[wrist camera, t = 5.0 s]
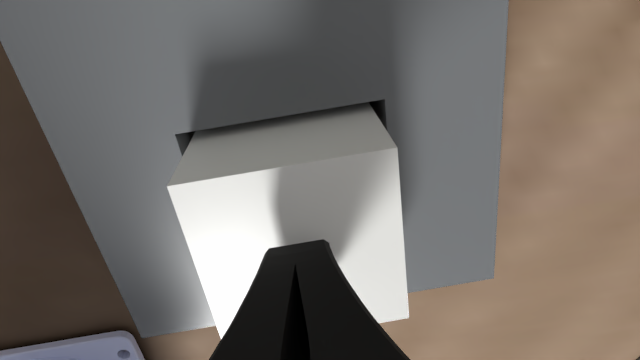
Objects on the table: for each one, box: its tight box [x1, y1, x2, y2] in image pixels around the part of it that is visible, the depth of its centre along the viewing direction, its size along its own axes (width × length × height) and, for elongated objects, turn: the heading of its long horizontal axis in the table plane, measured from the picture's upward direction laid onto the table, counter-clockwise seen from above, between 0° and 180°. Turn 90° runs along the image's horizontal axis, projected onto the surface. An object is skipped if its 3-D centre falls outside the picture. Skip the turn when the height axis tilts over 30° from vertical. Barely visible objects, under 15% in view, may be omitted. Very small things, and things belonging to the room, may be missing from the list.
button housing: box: [0, 0, 509, 338], centre depth 12 cm, size 17×12×3 cm
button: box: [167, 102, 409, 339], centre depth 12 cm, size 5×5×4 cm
